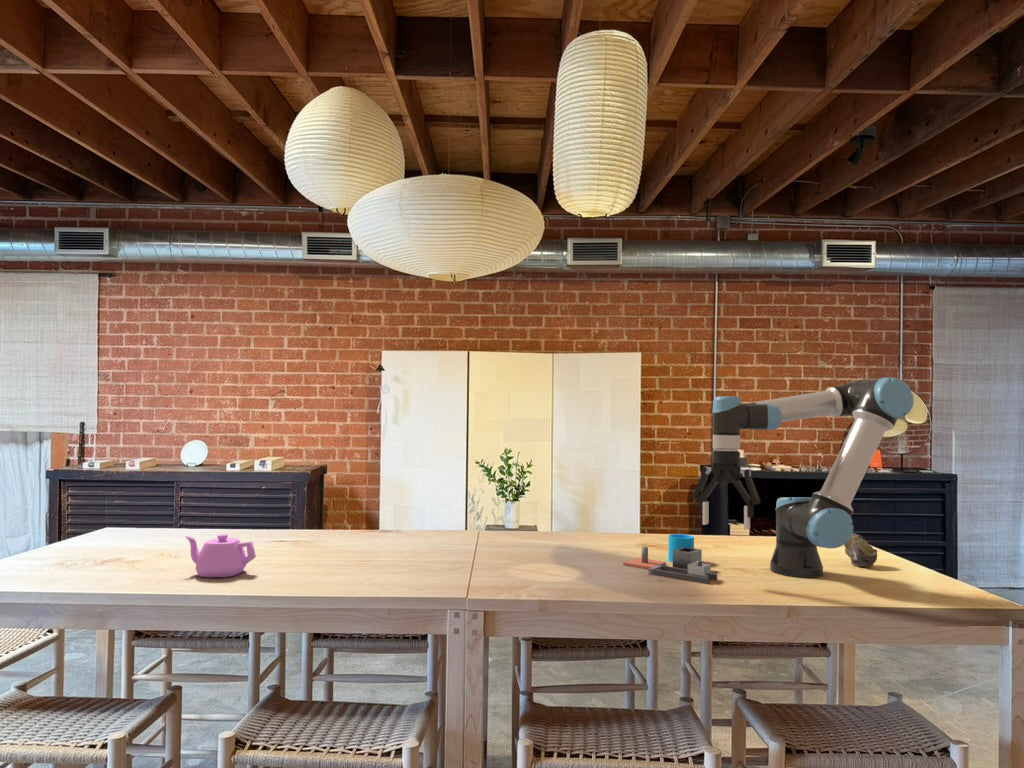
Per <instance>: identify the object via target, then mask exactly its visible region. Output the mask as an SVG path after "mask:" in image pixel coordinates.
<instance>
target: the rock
mask: <svg viewBox="0 0 1024 768" xmlns="http://www.w3.org/2000/svg"><path fill="white" fill-rule="evenodd" d="M843 546H844V548H845V549H844V553H845V554H846V555H847V556H848V558H850V563H851V564H852V566H855V567H857V568H861V567H866V568H871V567H872V566H874V564H875V563H876V562H877V559H878V549H875V548H873V546H871V545H870V544H869V541H868V540H867V539H865V538H864V537H863V536H862V535H861V534H857V533H852V536H851V538H850V539H849V540H848V542H847V543H845V544H844V545H843Z"/></svg>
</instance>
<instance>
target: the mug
mask: <svg viewBox="0 0 1024 768" xmlns="http://www.w3.org/2000/svg"><path fill="white" fill-rule="evenodd" d="M667 542H668V551H667V552H668V555H667V557H668V558H667V559H668V561H669V562H670V563H673V550H676V549H679V548H682V547H688V548H695V536H693V535H691V534H685V533H684V534H683V533H682V534H681V533H673V534H669V535H668V541H667Z"/></svg>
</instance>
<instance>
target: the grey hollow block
mask: <svg viewBox="0 0 1024 768" xmlns="http://www.w3.org/2000/svg"><path fill="white" fill-rule="evenodd" d="M697 560H699V561H702V562H703V559H702V549H701V548H695V547H694V548H688V547H682V548H679V549H676V550H673V562H672V567H676V568H682V569H688V564H690V563H693V562H696V561H697Z"/></svg>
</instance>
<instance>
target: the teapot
mask: <svg viewBox="0 0 1024 768" xmlns="http://www.w3.org/2000/svg"><path fill="white" fill-rule="evenodd" d="M216 536H217V538H213V539H208V540H207V541H205V542H204V543H203V546H202V547H201V550H200V551H199V549H198V545H197V541H196V540H195V538H193V537H192V536H187V535H186V536H184V538H186V540H188V541H189V544H190V558H191V560H192V562H193V563H194V564H195V572H196V573H197V574H198V576H199V577H202V578H228V577H234V576H237V575H239V574H241V573H242V572H243V571H244V569H245V568H246V566H247V564H249V563H250V562H252V561H253V560H254V559H255V558H256V557H257V554H256V552H255V547H254V542H253V541H245V542H241V540H240V539H239V538H230V537H228V536H229V535H228V534H225V533H224V534H218V535H216ZM245 547H246V553H247V554H246V553H245V550H244V548H245ZM246 555H247V556H246Z"/></svg>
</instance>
